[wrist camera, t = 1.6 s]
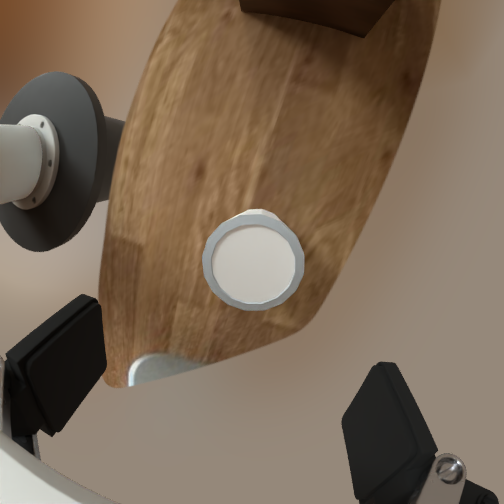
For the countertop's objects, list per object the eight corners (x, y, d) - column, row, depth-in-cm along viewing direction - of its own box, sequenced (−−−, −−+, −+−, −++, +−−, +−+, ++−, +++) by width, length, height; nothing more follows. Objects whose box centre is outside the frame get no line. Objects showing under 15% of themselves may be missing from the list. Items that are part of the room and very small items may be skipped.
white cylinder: (215, 269, 26) (197, 303, 19) (224, 196, 24) (207, 206, 17) (287, 280, 26) (293, 318, 19) (301, 208, 24) (315, 223, 17)
